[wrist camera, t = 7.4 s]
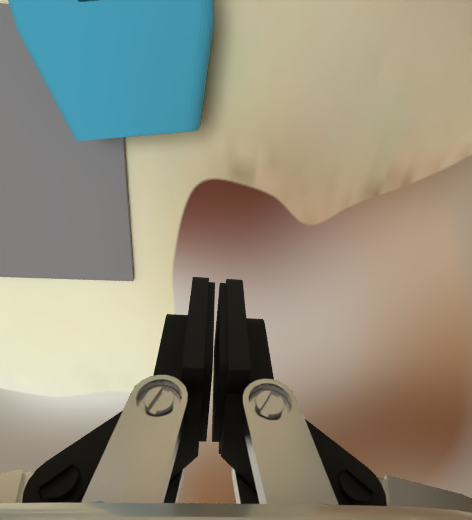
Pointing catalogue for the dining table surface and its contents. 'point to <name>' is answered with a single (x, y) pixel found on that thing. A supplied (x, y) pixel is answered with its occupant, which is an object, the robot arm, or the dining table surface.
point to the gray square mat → (55, 182)
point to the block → (121, 62)
